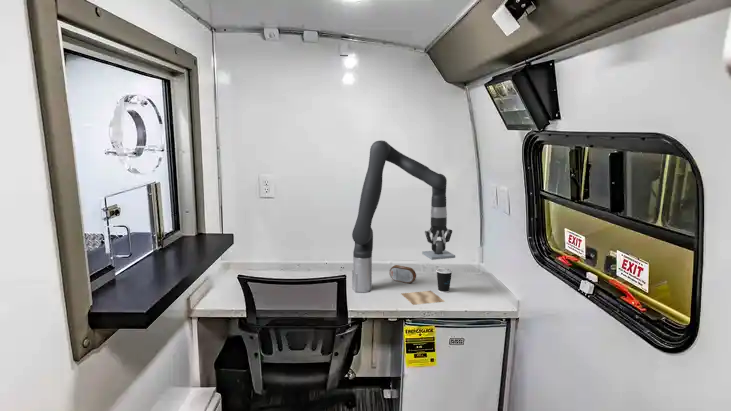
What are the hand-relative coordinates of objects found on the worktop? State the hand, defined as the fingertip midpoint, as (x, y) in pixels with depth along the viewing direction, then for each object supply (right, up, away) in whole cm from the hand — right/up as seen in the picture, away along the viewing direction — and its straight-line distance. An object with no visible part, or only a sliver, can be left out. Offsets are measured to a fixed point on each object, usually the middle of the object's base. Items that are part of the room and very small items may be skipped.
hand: (438, 250), depth 225 cm
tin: (-16, -19, +23) cm, 34 cm away
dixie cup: (+4, -21, +7) cm, 23 cm away
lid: (0, -2, 0) cm, 2 cm away
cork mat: (-8, -22, -2) cm, 24 cm away
